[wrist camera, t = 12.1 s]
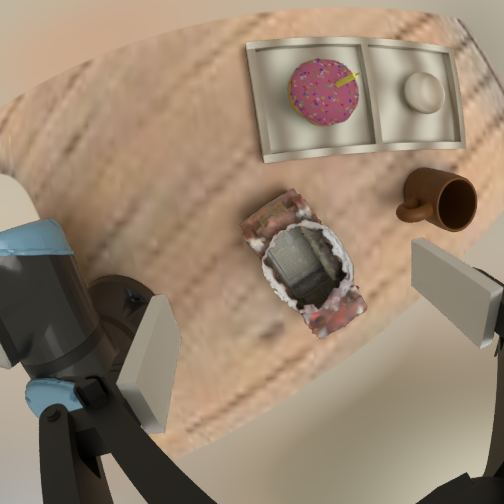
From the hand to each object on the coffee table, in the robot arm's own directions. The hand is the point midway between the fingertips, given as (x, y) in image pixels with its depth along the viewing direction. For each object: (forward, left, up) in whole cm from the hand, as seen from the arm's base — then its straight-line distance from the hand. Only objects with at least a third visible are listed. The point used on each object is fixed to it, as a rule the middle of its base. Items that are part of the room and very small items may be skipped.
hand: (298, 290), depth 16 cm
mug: (+22, -3, -29) cm, 36 cm away
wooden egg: (+24, +12, -28) cm, 39 cm away
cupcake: (+9, +12, -28) cm, 32 cm away
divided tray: (+16, +12, -28) cm, 35 cm away
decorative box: (+6, -9, -29) cm, 31 cm away
